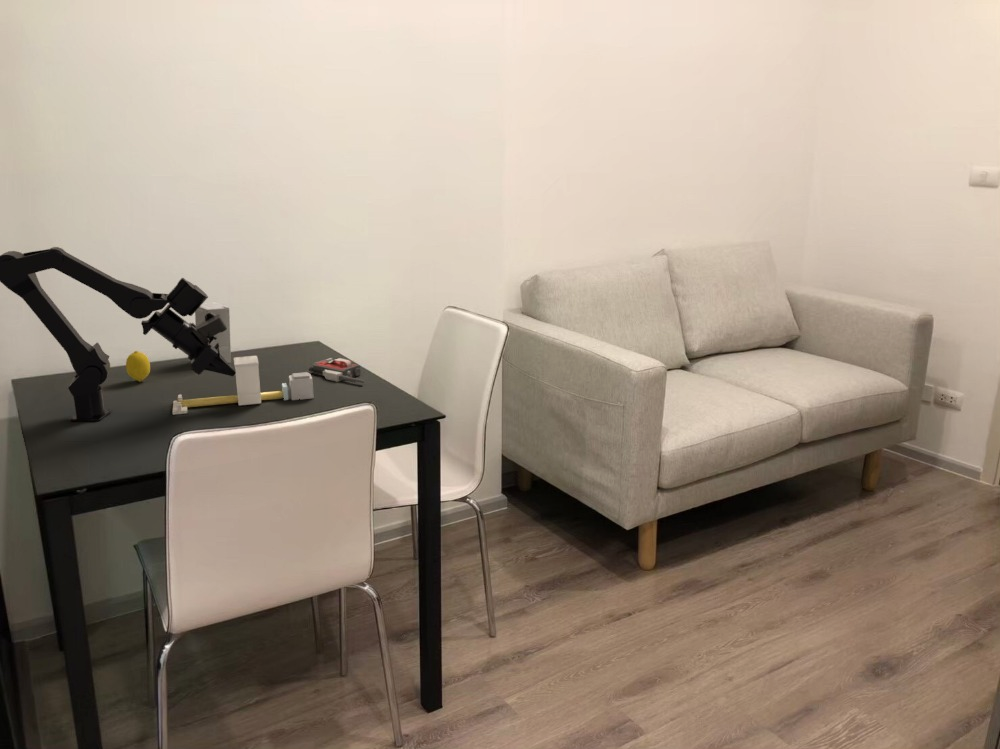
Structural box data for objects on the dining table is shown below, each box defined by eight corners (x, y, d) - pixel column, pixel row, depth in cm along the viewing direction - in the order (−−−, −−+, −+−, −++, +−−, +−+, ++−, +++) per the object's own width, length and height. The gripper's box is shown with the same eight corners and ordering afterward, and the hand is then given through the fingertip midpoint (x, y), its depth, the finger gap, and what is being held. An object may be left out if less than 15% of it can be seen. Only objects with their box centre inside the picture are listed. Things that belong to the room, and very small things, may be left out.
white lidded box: (238, 405, 190) (234, 364, 187) (237, 397, 196) (233, 357, 193) (261, 403, 192) (258, 362, 189) (260, 395, 198) (256, 355, 195)
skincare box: (196, 361, 228) (190, 304, 224) (221, 356, 233) (215, 300, 229) (209, 367, 222) (204, 308, 218) (235, 362, 227) (229, 305, 223)
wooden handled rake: (172, 414, 185) (171, 406, 184) (173, 403, 192) (173, 395, 192) (292, 402, 193) (292, 394, 192) (289, 392, 201) (288, 384, 200)
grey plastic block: (284, 401, 194) (282, 378, 193) (282, 395, 198) (280, 373, 197) (313, 398, 196) (312, 376, 195) (311, 392, 200) (310, 371, 199)
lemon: (156, 378, 212) (152, 348, 209) (145, 385, 206) (141, 354, 204) (135, 378, 212) (131, 347, 210) (123, 384, 207) (119, 353, 205)
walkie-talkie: (302, 376, 216) (361, 388, 205) (301, 359, 214) (360, 371, 204) (326, 368, 223) (384, 379, 212) (325, 352, 222) (383, 363, 211)
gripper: (201, 312, 176) (260, 358, 183) (202, 296, 193) (255, 339, 200) (166, 351, 176) (226, 396, 182) (169, 332, 193) (224, 373, 199)
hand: (234, 374), depth 191 cm, fingers closed, pressing on white lidded box
